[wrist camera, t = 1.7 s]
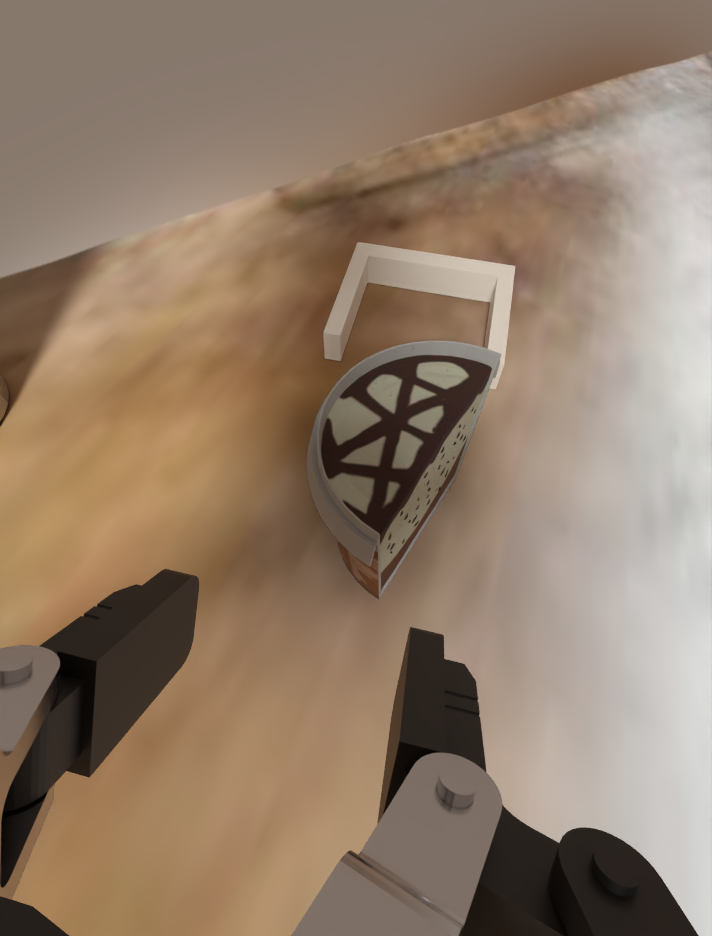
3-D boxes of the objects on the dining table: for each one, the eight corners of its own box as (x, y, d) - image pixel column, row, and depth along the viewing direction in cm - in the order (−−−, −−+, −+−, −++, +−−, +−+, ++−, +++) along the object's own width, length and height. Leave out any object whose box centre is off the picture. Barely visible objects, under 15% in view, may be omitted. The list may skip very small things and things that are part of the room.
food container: (384, 418, 35) (395, 299, 27) (466, 460, 34) (506, 346, 25) (272, 563, 30) (242, 469, 21) (364, 622, 28) (371, 546, 20)
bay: (324, 358, 38) (323, 332, 36) (357, 268, 44) (357, 241, 42) (495, 389, 37) (504, 364, 35) (506, 292, 42) (515, 266, 40)
